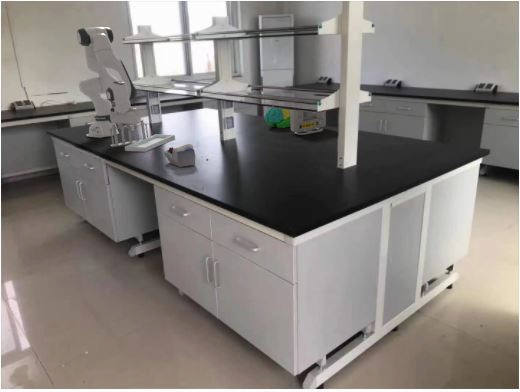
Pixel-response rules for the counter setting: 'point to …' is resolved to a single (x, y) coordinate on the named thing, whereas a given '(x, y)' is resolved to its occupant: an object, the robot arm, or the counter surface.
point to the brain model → (278, 117)
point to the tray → (149, 143)
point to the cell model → (181, 155)
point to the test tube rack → (128, 133)
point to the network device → (307, 121)
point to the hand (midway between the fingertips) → (127, 130)
